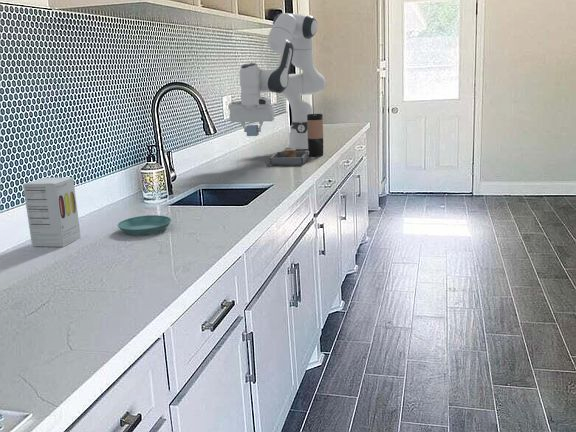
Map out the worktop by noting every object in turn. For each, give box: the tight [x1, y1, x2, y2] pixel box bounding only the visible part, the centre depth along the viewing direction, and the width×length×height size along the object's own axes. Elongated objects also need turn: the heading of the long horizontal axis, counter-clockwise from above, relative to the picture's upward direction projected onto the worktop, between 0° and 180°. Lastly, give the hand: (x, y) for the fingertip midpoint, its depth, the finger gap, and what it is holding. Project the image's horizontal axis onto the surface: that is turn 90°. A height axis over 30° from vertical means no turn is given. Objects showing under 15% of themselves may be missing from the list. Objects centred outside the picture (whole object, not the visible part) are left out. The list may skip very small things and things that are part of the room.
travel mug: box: [307, 113, 324, 158], centre depth 285 cm, size 8×8×20 cm
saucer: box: [117, 214, 172, 236], centre depth 165 cm, size 15×15×3 cm
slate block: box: [245, 124, 260, 137], centre depth 265 cm, size 4×4×4 cm
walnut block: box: [284, 148, 297, 158], centre depth 274 cm, size 4×4×4 cm
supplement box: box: [22, 176, 82, 248], centre depth 155 cm, size 10×9×17 cm
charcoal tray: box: [269, 150, 309, 167], centre depth 271 cm, size 19×15×4 cm
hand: (252, 131), depth 266 cm, fingers closed on slate block, 4 cm apart
